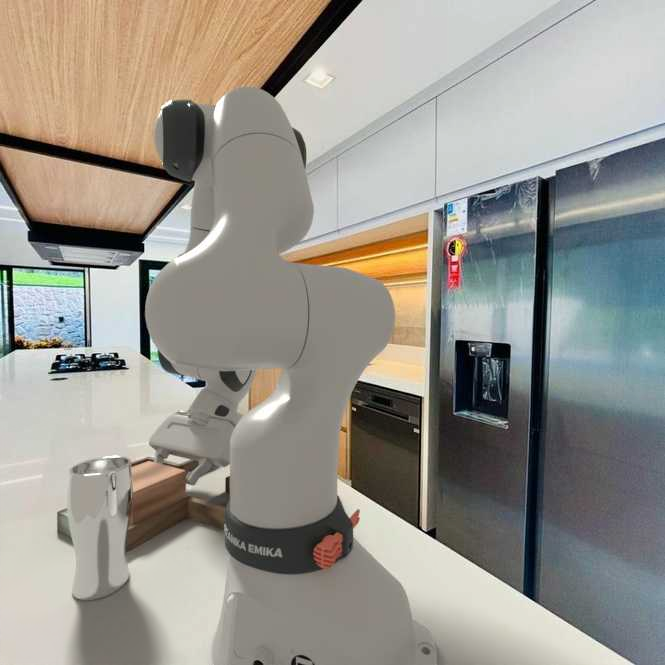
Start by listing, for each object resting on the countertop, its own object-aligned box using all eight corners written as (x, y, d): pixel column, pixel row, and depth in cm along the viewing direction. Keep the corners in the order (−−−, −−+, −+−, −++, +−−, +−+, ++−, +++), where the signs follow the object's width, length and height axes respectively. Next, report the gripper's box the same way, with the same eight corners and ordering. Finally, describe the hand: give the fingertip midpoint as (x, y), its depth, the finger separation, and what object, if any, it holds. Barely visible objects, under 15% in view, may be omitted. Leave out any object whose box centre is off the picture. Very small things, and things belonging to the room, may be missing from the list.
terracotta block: (185, 509, 66) (185, 470, 65) (133, 537, 57) (133, 492, 57) (148, 497, 70) (148, 460, 70) (94, 521, 61) (94, 479, 61)
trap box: (301, 484, 76) (301, 469, 76) (164, 580, 47) (164, 556, 47) (183, 456, 92) (183, 444, 92) (25, 515, 63) (25, 498, 63)
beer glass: (130, 559, 51) (130, 452, 51) (135, 589, 45) (135, 468, 45) (69, 577, 47) (69, 461, 47) (65, 612, 42) (65, 480, 41)
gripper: (167, 401, 80) (123, 461, 71) (240, 411, 70) (200, 481, 62) (184, 417, 84) (144, 475, 75) (255, 429, 74) (219, 497, 66)
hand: (170, 478), depth 68 cm, fingers open, 8 cm apart
